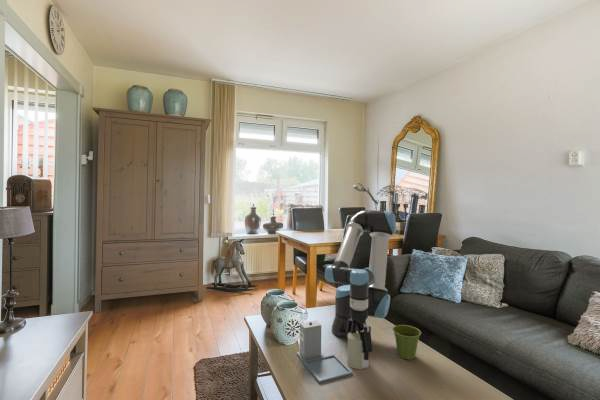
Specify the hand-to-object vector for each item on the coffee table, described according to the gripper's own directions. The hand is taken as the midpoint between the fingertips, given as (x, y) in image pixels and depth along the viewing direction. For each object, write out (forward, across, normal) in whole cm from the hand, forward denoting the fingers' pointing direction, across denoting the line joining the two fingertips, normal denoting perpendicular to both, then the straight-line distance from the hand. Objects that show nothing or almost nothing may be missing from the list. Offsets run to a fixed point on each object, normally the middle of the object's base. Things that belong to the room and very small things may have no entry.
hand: (358, 360), depth 132 cm
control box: (+1, -13, -16) cm, 21 cm away
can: (+1, 0, 0) cm, 1 cm away
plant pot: (+1, +3, +23) cm, 23 cm away
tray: (+1, -1, -14) cm, 14 cm away
